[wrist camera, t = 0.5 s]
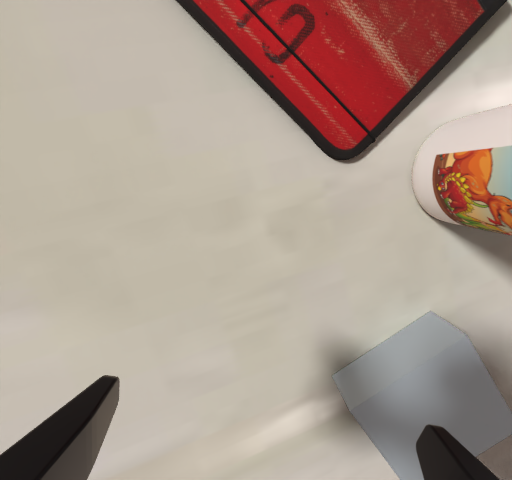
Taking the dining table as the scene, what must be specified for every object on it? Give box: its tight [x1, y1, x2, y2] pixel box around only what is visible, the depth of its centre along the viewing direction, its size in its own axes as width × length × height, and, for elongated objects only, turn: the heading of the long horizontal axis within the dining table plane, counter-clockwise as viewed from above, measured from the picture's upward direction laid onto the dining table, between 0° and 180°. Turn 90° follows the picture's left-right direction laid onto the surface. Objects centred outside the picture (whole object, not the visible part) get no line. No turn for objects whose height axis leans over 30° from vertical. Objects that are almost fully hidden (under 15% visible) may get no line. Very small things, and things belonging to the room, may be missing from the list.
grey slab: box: [332, 311, 512, 480], centre depth 25 cm, size 10×10×4 cm
